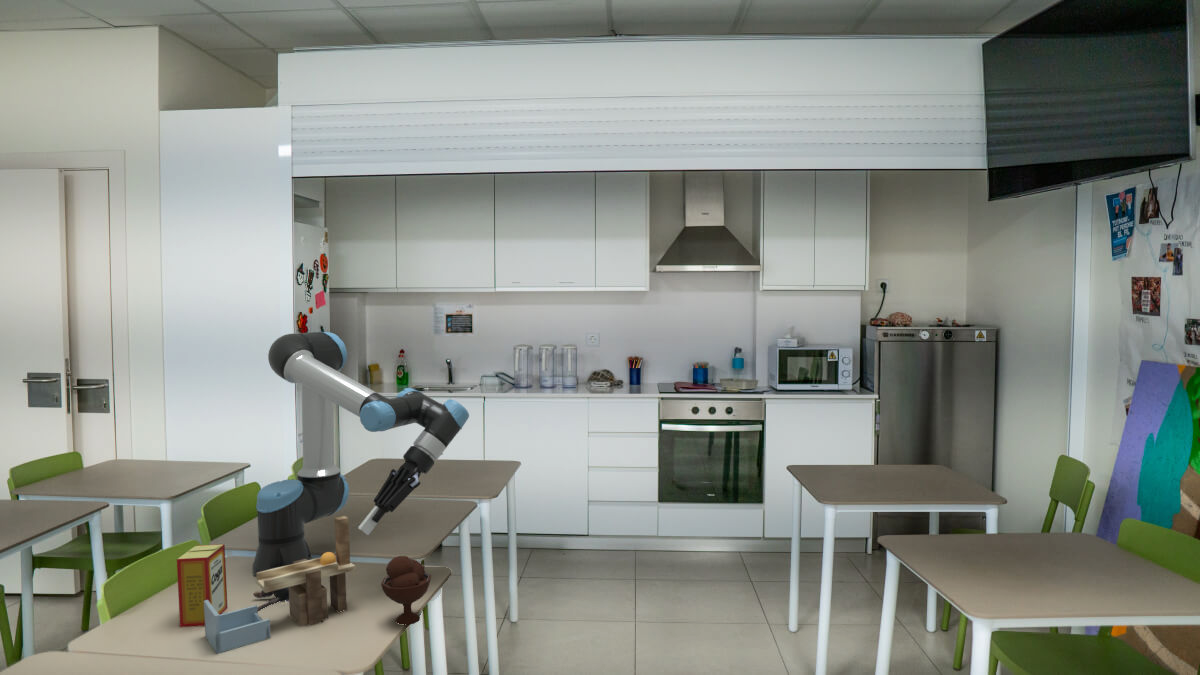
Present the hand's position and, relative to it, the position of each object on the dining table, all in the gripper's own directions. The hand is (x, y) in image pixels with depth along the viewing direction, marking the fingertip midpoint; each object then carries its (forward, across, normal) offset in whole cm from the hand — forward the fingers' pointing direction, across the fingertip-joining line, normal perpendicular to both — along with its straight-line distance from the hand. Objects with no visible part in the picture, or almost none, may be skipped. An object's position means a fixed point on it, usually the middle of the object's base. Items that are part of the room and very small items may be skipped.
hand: (363, 531), depth 176 cm
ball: (+10, 0, +3) cm, 10 cm away
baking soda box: (+35, +17, +10) cm, 40 cm away
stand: (+20, 0, -4) cm, 20 cm away
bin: (+32, 0, +8) cm, 33 cm away
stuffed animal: (+24, +16, -2) cm, 29 cm away
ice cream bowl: (+10, -17, -14) cm, 25 cm away
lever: (+15, 0, +5) cm, 15 cm away
